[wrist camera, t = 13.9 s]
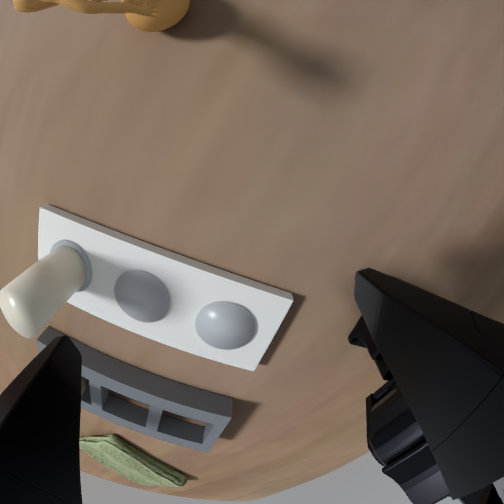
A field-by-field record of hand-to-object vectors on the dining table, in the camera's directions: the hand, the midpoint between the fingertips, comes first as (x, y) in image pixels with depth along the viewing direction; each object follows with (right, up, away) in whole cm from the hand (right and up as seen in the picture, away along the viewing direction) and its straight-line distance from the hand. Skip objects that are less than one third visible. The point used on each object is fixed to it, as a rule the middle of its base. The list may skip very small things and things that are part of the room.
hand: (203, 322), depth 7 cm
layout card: (-7, -1, +12) cm, 14 cm away
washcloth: (-19, -33, +27) cm, 47 cm away
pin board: (-12, -13, +17) cm, 25 cm away
